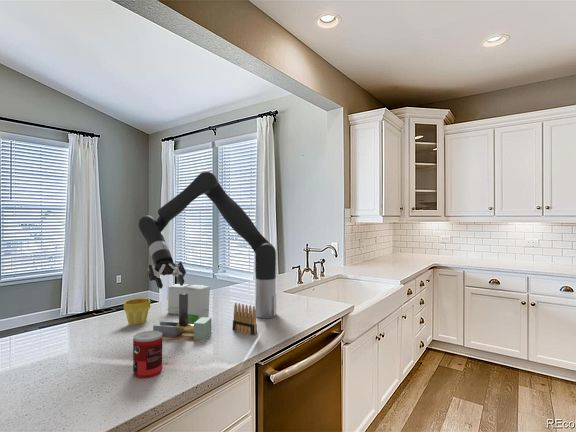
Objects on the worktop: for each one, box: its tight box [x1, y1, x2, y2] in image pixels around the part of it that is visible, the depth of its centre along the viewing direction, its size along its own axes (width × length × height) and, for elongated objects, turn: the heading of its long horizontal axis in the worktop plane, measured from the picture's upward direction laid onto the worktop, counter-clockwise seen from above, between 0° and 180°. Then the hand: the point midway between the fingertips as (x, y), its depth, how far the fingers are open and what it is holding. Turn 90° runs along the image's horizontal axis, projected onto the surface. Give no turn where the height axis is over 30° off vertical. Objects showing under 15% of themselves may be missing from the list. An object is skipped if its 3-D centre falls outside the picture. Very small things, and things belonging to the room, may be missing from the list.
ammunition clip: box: [232, 302, 258, 336], centre depth 130 cm, size 11×2×12 cm, turn 59°
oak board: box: [162, 331, 213, 343], centre depth 126 cm, size 20×10×1 cm, turn 83°
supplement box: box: [167, 283, 190, 315], centre depth 161 cm, size 7×7×13 cm
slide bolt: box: [177, 293, 194, 334], centre depth 125 cm, size 11×3×14 cm, turn 82°
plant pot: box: [123, 297, 151, 326], centre depth 142 cm, size 10×10×10 cm
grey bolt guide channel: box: [152, 320, 182, 338], centre depth 126 cm, size 9×5×4 cm, turn 82°
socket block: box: [193, 317, 212, 341], centre depth 125 cm, size 4×7×6 cm, turn 173°
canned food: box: [132, 330, 163, 379], centre depth 99 cm, size 8×8×11 cm
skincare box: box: [186, 283, 211, 323], centre depth 145 cm, size 8×7×16 cm
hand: (172, 286), depth 133 cm, fingers open, 8 cm apart
